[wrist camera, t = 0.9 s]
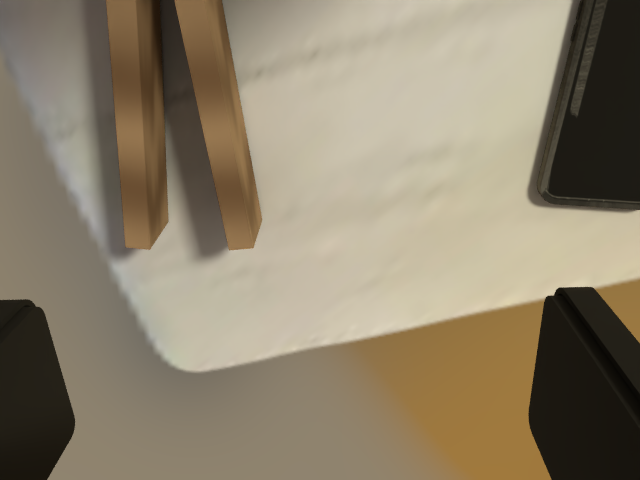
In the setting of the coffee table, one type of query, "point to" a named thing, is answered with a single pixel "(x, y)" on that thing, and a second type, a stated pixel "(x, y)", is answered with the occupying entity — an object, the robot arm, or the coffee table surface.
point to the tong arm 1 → (139, 117)
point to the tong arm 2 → (221, 117)
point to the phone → (597, 112)
